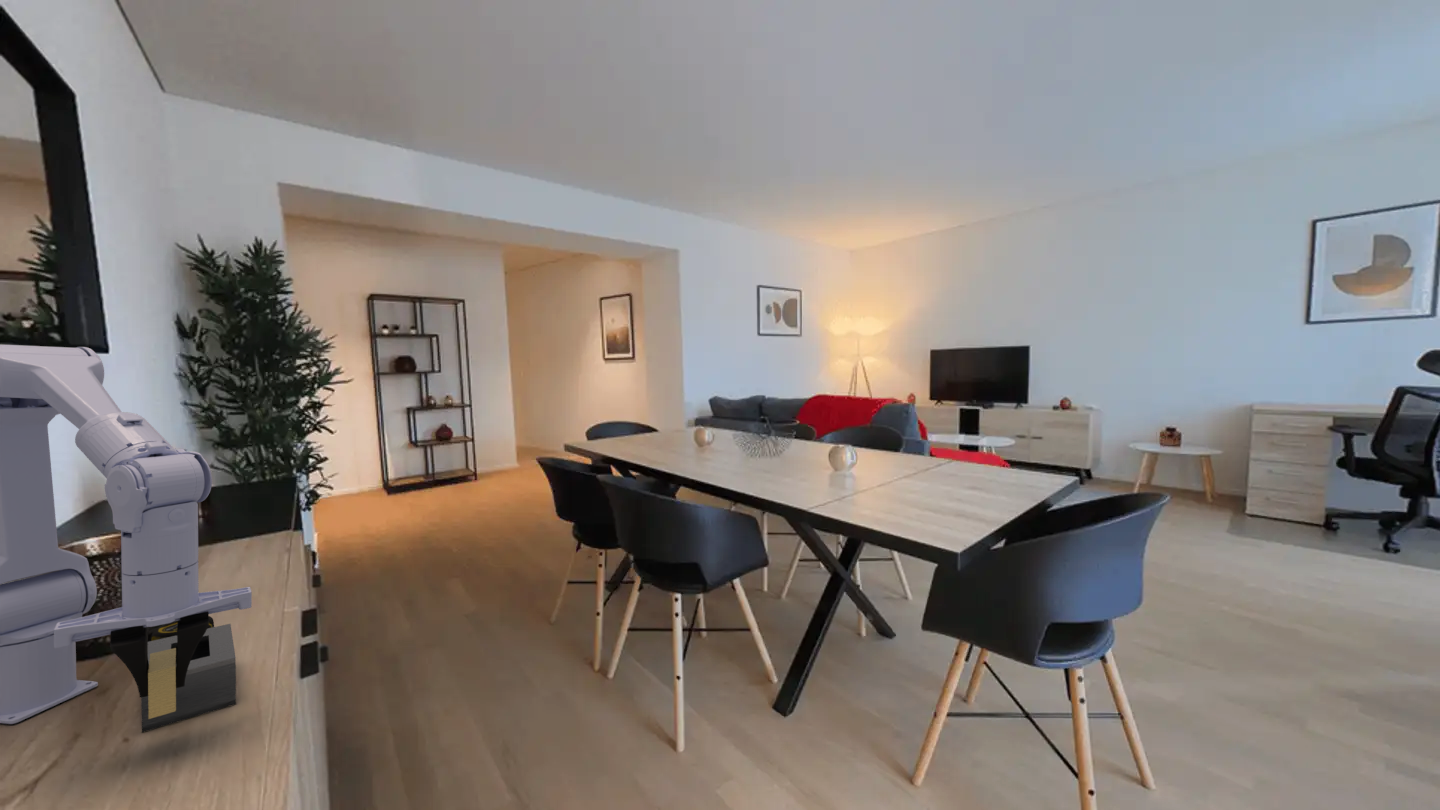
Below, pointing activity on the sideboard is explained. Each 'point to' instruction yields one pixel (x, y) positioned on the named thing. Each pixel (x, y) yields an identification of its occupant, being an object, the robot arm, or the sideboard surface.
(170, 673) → the wooden rectangular block
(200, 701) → the coin box
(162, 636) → the tape measure
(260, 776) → the sideboard surface
